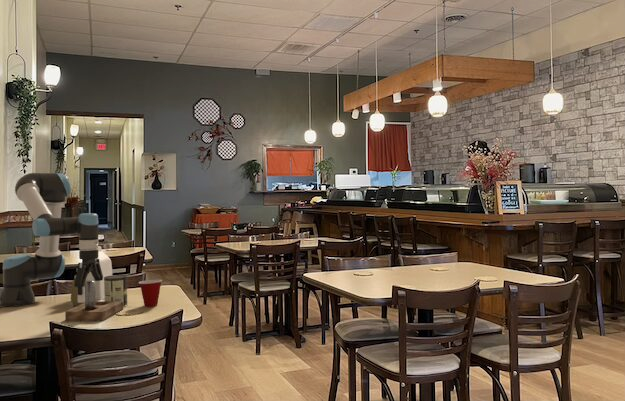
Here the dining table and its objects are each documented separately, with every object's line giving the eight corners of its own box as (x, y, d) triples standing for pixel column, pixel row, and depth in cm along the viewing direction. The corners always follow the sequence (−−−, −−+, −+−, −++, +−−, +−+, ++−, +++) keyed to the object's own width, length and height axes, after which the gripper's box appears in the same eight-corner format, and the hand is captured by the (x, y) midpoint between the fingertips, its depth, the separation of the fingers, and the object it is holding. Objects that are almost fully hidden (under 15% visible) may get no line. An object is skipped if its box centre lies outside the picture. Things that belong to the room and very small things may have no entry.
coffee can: (117, 303, 248) (117, 274, 248) (132, 305, 243) (131, 275, 242) (99, 307, 239) (99, 277, 239) (113, 309, 234) (113, 279, 234)
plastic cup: (151, 302, 249) (151, 277, 249) (167, 304, 244) (167, 279, 244) (133, 306, 240) (133, 281, 240) (149, 309, 234) (149, 283, 234)
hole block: (65, 321, 213) (65, 311, 213) (89, 309, 233) (88, 301, 233) (102, 321, 212) (102, 311, 212) (123, 310, 232) (122, 301, 232)
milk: (100, 299, 255) (100, 248, 255) (79, 299, 257) (79, 247, 256) (113, 295, 267) (113, 245, 266) (93, 294, 269) (93, 245, 268)
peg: (82, 317, 216) (83, 281, 216) (87, 314, 220) (88, 280, 220) (92, 317, 216) (92, 282, 216) (96, 315, 220) (97, 280, 220)
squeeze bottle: (82, 307, 238) (81, 269, 238) (66, 306, 240) (66, 268, 239) (92, 303, 246) (92, 266, 246) (78, 303, 248) (77, 266, 247)
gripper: (82, 253, 205) (83, 305, 205) (110, 246, 230) (111, 293, 230) (64, 253, 205) (65, 305, 206) (94, 246, 230) (95, 292, 231)
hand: (89, 299), depth 218 cm, fingers open, 13 cm apart
